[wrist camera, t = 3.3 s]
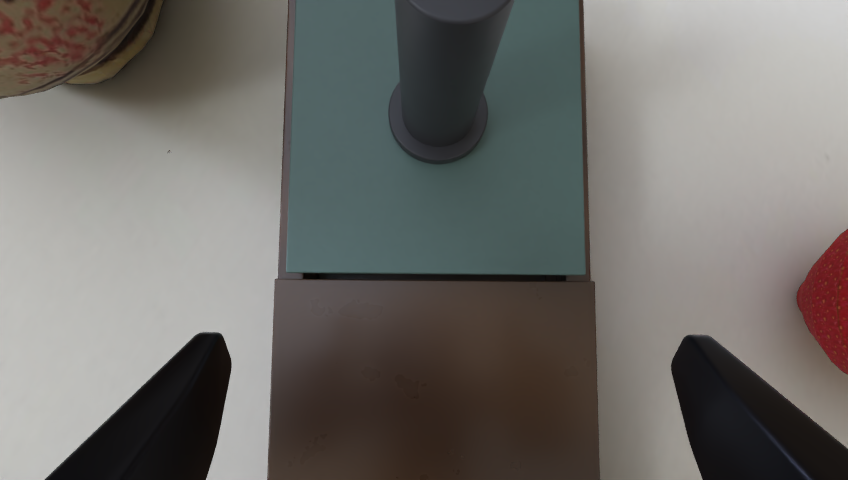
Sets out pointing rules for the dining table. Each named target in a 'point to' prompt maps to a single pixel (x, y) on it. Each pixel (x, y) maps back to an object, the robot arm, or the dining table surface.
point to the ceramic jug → (69, 41)
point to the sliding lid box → (432, 366)
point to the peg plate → (436, 138)
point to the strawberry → (828, 301)
